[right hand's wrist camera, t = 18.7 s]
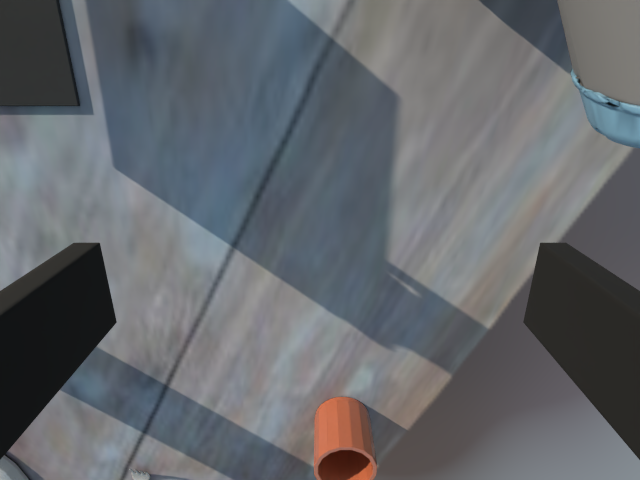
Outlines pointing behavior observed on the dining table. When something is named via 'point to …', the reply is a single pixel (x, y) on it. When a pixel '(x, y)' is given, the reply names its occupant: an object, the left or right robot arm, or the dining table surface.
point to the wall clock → (10, 470)
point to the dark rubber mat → (34, 55)
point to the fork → (140, 475)
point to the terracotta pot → (343, 441)
